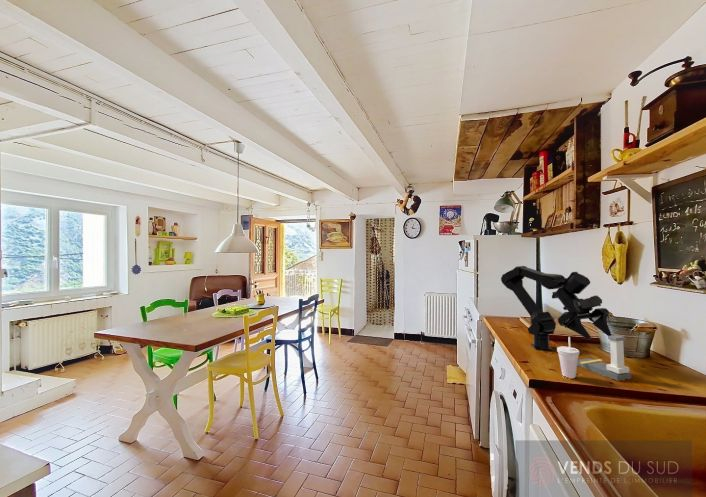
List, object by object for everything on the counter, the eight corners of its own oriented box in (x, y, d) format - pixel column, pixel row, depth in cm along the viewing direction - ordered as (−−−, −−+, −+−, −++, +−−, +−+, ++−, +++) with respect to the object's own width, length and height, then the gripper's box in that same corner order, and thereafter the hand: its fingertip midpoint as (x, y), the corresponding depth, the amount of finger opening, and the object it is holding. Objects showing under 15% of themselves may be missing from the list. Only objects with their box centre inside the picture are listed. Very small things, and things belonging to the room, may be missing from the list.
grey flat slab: (574, 365, 113) (573, 359, 113) (593, 362, 115) (593, 356, 115) (613, 382, 100) (613, 375, 100) (634, 378, 102) (634, 371, 102)
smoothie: (584, 381, 101) (583, 340, 101) (563, 380, 102) (561, 339, 102) (574, 373, 107) (573, 334, 107) (554, 372, 108) (552, 334, 108)
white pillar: (606, 369, 104) (605, 335, 104) (616, 367, 105) (615, 334, 105) (618, 373, 100) (617, 339, 100) (629, 372, 101) (628, 337, 101)
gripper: (563, 290, 111) (594, 328, 100) (603, 286, 115) (637, 322, 104) (546, 307, 119) (573, 344, 108) (584, 303, 123) (614, 338, 112)
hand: (600, 337), depth 108 cm, fingers open, 9 cm apart
